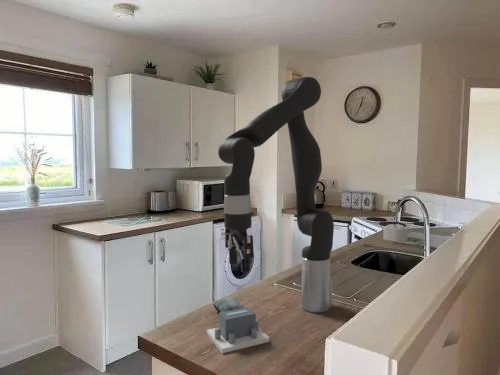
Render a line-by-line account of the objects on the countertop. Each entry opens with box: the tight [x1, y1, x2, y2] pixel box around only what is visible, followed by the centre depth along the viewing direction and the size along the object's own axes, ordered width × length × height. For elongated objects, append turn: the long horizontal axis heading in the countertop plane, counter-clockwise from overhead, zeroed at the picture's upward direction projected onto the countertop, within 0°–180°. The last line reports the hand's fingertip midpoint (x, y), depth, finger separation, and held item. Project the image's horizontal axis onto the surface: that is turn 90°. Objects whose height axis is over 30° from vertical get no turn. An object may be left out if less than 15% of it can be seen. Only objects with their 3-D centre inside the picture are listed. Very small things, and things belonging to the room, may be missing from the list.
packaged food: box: [212, 296, 246, 314], centre depth 124 cm, size 9×12×5 cm
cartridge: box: [218, 307, 257, 341], centre depth 109 cm, size 9×5×6 cm, turn 115°
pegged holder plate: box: [206, 319, 270, 354], centre depth 109 cm, size 14×12×4 cm
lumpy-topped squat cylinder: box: [382, 223, 409, 242], centre depth 228 cm, size 10×13×9 cm
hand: (239, 267), depth 108 cm, fingers open, 8 cm apart
